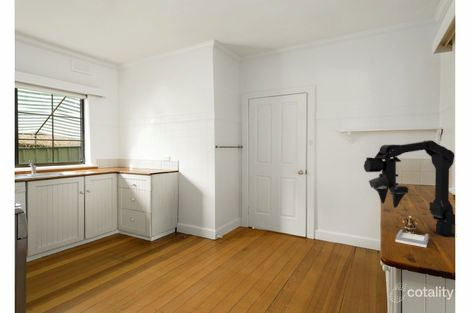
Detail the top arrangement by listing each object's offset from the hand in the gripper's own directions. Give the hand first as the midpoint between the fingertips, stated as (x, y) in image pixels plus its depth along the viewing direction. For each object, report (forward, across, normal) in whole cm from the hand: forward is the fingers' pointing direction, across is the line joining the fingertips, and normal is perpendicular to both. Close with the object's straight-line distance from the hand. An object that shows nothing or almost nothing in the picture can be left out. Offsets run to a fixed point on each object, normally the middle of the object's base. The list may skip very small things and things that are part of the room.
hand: (388, 205), depth 122 cm
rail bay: (+14, +7, +6) cm, 17 cm away
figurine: (+14, -4, +13) cm, 20 cm away
